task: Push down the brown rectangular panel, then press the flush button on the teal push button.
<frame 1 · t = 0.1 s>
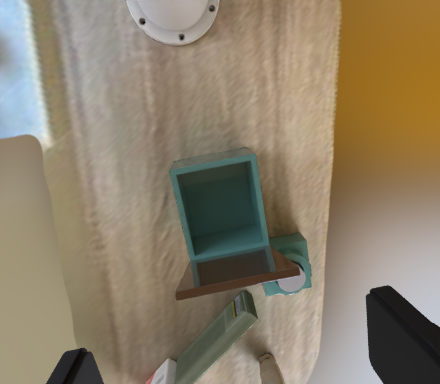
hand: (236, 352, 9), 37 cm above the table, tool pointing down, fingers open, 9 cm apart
handle: (266, 358, 56), on the table
ink cartridge box: (165, 375, 55), on the table, touching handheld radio
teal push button: (280, 259, 50), on the table
flush button: (290, 276, 45), point 5 cm above the table, slide at 0.1 cm
teal bin: (218, 194, 46), on the table
brown rectangular panel: (233, 266, 33), point 15 cm above the table, hinge at 72.0°
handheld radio: (203, 336, 53), on the table, touching ink cartridge box
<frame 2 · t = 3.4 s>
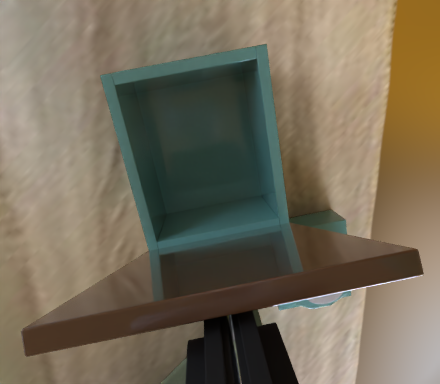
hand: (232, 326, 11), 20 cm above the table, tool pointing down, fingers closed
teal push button: (300, 252, 32), on the table
flush button: (320, 278, 27), point 5 cm above the table, slide at 0.1 cm
teal bin: (202, 146, 29), on the table
brown rectangular panel: (221, 257, 15), point 15 cm above the table, hinge at 71.6°, touching gripper
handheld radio: (184, 367, 36), on the table, touching ink cartridge box
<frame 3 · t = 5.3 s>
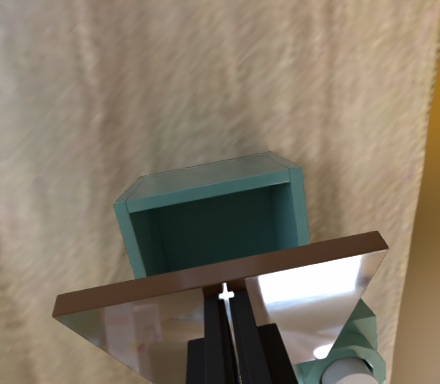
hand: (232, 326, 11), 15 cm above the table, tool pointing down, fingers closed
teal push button: (323, 337, 30), on the table
teal bin: (219, 234, 26), on the table
brown rectangular panel: (236, 336, 15), point 12 cm above the table, hinge at 30.6°, touching gripper
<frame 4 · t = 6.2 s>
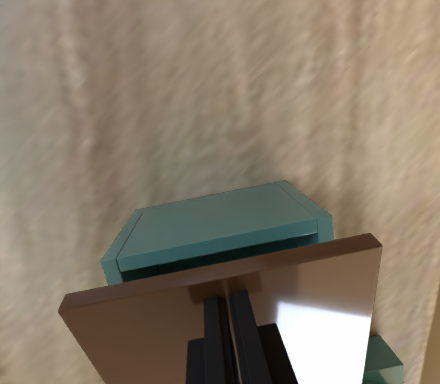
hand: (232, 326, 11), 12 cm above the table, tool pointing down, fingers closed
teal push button: (340, 380, 27), on the table
teal bin: (226, 272, 23), on the table
brown rectangular panel: (244, 378, 14), point 10 cm above the table, hinge at 12.8°, touching gripper
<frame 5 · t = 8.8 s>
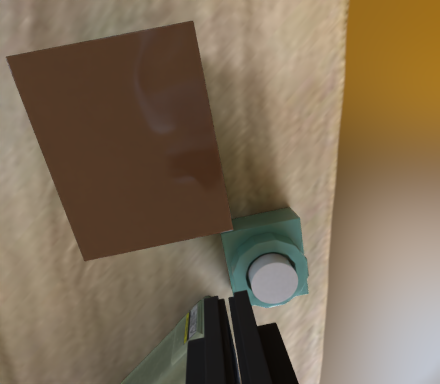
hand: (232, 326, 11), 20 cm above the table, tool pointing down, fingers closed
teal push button: (260, 250, 32), on the table
flush button: (272, 278, 27), point 5 cm above the table, slide at 0.1 cm
brown rectangular panel: (134, 153, 20), point 8 cm above the table, hinge at 0.7°
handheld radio: (148, 363, 36), on the table, touching ink cartridge box
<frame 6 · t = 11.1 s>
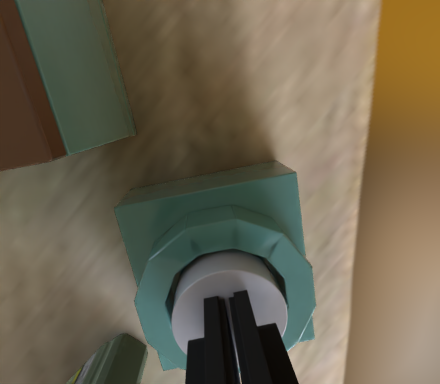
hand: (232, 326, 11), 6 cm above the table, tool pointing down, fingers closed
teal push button: (219, 249, 16), on the table
flush button: (228, 307, 11), point 5 cm above the table, slide at -0.3 cm, touching gripper
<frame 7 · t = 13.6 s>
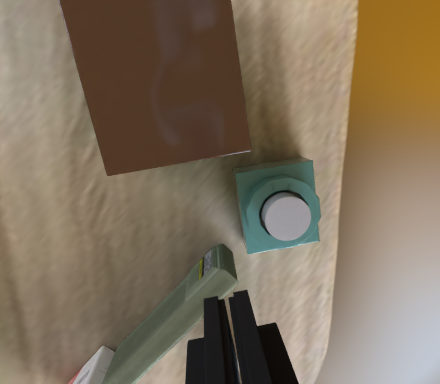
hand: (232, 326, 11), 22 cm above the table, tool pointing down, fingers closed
ink cartridge box: (100, 373, 37), on the table, touching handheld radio
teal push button: (271, 200, 33), on the table
flush button: (285, 216, 27), point 5 cm above the table, slide at 0.1 cm
brown rectangular panel: (160, 67, 21), point 8 cm above the table, hinge at 0.7°
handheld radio: (158, 315, 35), on the table, touching ink cartridge box
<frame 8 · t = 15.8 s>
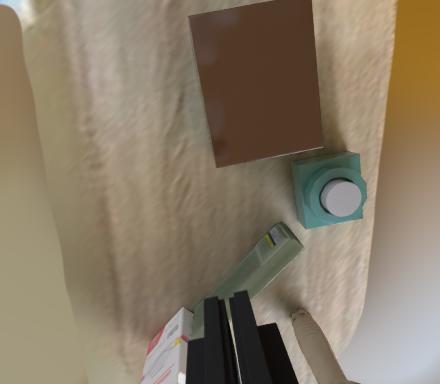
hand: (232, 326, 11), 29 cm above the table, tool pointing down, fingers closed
handle: (299, 315, 46), on the table
ink cartridge box: (178, 330, 45), on the table, touching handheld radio
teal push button: (321, 187, 40), on the table
flush button: (340, 197, 35), point 5 cm above the table, slide at 0.1 cm
brown rectangular panel: (259, 87, 28), point 8 cm above the table, hinge at 0.7°
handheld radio: (227, 281, 43), on the table, touching ink cartridge box
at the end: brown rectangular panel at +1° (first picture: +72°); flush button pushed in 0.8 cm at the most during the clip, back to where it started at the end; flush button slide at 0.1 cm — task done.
